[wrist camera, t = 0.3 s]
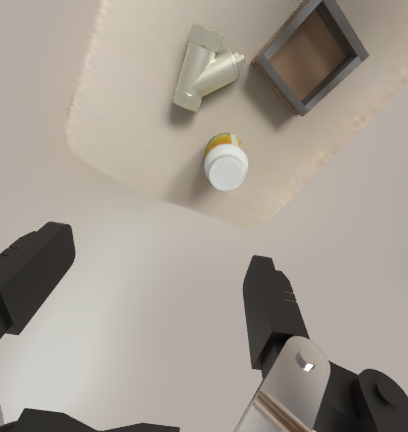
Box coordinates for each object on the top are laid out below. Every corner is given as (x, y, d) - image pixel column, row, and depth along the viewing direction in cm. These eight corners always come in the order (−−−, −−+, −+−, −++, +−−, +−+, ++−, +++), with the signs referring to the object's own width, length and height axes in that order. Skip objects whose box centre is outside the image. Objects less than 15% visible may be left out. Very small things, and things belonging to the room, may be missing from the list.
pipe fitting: (246, 51, 28) (193, 26, 27) (253, 50, 25) (193, 21, 24) (220, 118, 32) (173, 99, 31) (223, 124, 29) (170, 103, 28)
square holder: (313, -10, 25) (325, -21, 22) (356, 57, 27) (371, 55, 25) (251, 62, 28) (255, 61, 25) (294, 114, 31) (302, 119, 28)
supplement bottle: (250, 141, 33) (261, 163, 25) (233, 174, 36) (238, 203, 27) (215, 125, 32) (214, 143, 24) (200, 160, 35) (195, 186, 27)
